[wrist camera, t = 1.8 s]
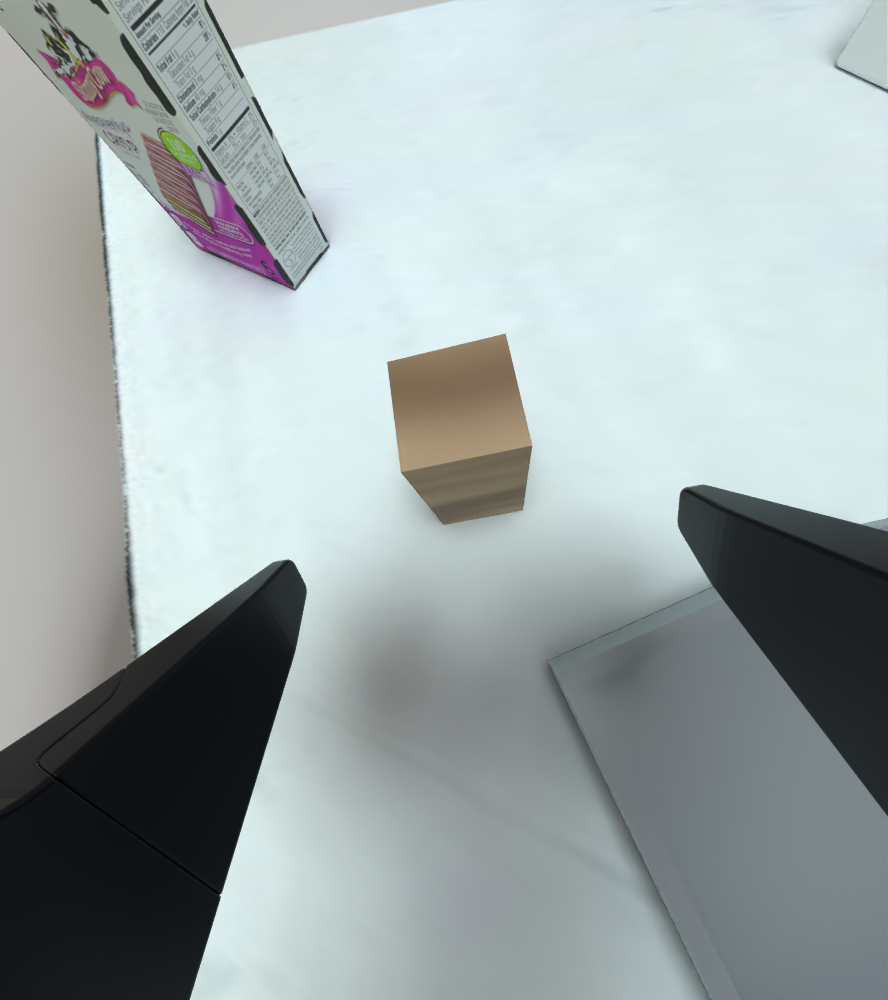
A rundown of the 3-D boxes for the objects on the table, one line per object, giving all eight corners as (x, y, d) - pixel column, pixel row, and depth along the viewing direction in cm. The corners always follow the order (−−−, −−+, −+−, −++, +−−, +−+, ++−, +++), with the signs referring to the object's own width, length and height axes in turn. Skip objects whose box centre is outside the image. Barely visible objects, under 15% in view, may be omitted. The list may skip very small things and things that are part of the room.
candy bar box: (195, 252, 31) (-121, -104, 15) (232, 207, 32) (-36, -176, 16) (296, 296, 28) (27, -94, 12) (333, 245, 29) (125, -183, 13)
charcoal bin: (749, 1080, 14) (824, 1227, 11) (547, 661, 19) (556, 673, 15) (1157, 917, 13) (1371, 1021, 10) (843, 528, 18) (917, 511, 15)
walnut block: (522, 510, 21) (532, 445, 12) (443, 524, 22) (401, 472, 13) (506, 437, 22) (505, 333, 14) (432, 452, 23) (387, 362, 14)
